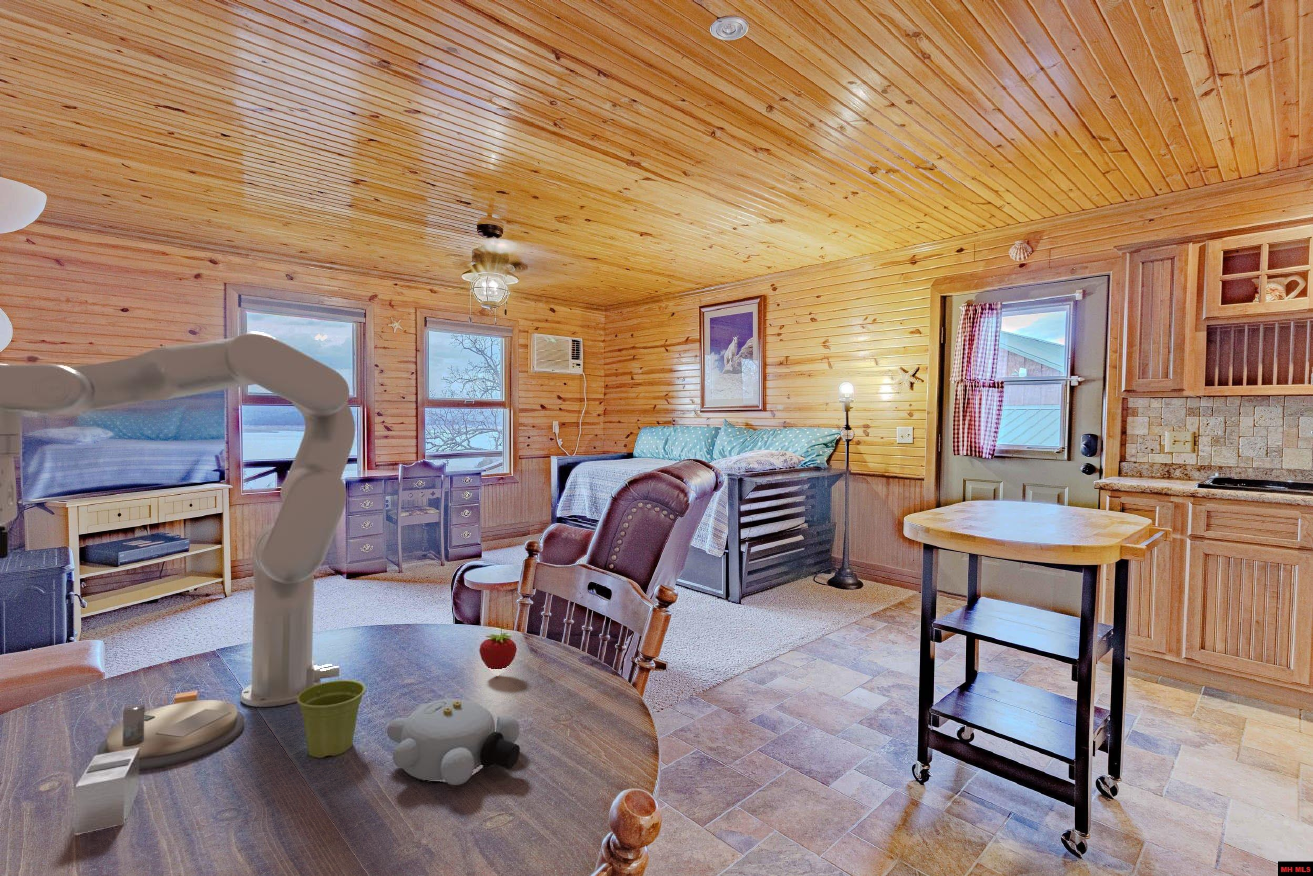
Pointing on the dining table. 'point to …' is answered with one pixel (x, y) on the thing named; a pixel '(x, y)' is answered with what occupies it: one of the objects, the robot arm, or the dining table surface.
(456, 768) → the grey toy figure
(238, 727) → the turntable base
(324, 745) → the plant pot
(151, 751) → the turntable
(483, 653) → the strawberry
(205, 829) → the dining table surface
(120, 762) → the link block
